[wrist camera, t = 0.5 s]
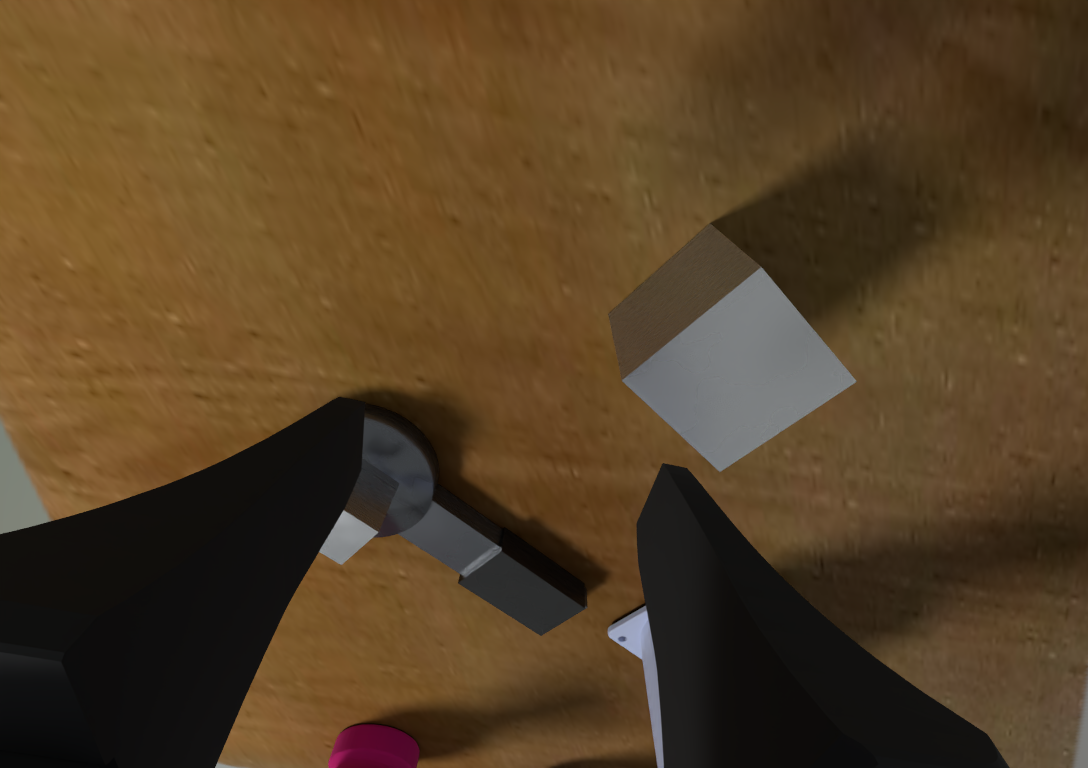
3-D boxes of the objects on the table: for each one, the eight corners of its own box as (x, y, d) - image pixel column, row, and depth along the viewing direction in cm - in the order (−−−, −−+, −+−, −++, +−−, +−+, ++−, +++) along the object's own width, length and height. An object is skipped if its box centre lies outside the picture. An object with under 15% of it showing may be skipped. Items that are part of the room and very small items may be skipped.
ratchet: (612, 572, 28) (620, 648, 24) (526, 627, 30) (520, 703, 26) (346, 374, 22) (300, 432, 18) (268, 462, 25) (214, 529, 21)
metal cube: (786, 313, 20) (856, 381, 15) (685, 390, 22) (720, 472, 17) (709, 223, 18) (761, 267, 14) (608, 314, 20) (622, 380, 15)
